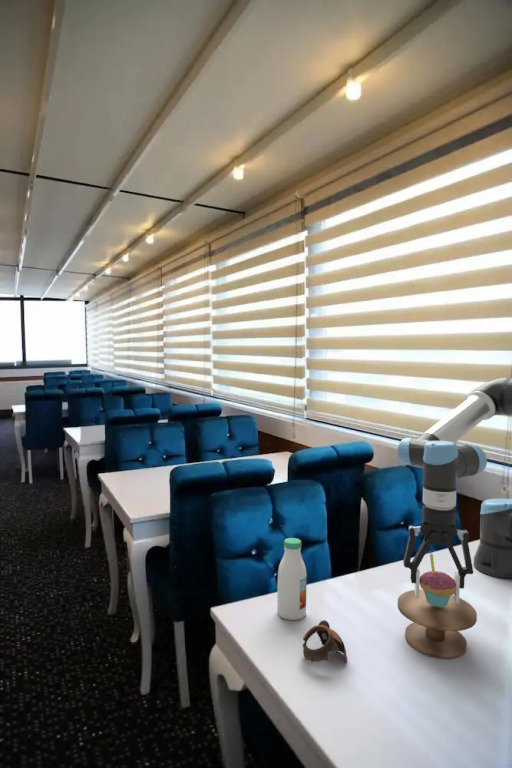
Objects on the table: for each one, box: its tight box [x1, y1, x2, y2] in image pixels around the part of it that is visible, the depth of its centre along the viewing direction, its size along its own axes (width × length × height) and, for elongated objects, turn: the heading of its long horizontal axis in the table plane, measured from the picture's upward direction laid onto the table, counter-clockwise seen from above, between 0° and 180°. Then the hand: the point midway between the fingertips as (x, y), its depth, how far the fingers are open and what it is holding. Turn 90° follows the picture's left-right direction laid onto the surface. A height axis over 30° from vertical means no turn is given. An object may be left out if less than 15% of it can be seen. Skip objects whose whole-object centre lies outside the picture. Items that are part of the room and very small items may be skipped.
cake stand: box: [397, 588, 478, 660], centre depth 117 cm, size 18×18×9 cm
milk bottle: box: [276, 537, 307, 621], centre depth 129 cm, size 8×8×20 cm
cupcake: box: [419, 550, 457, 607], centre depth 116 cm, size 9×8×12 cm
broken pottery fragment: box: [302, 619, 348, 664], centre depth 111 cm, size 12×10×8 cm
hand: (436, 598), depth 117 cm, fingers open, 8 cm apart
